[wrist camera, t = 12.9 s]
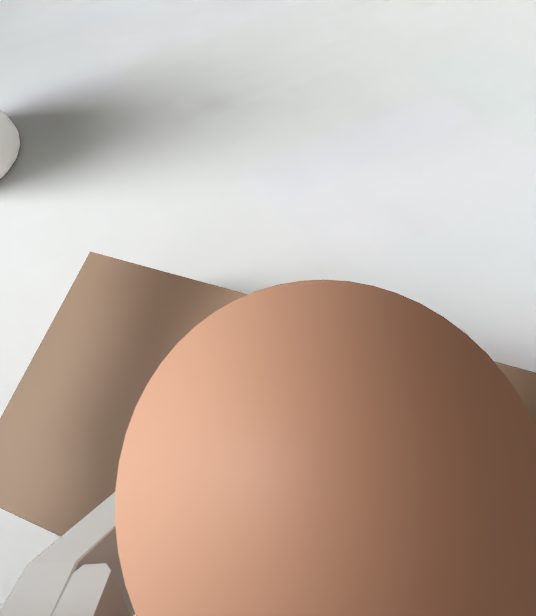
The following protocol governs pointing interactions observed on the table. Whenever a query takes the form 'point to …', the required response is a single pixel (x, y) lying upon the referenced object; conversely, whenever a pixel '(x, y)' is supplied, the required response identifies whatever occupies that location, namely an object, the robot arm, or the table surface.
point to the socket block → (104, 386)
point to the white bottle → (7, 143)
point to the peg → (328, 466)
